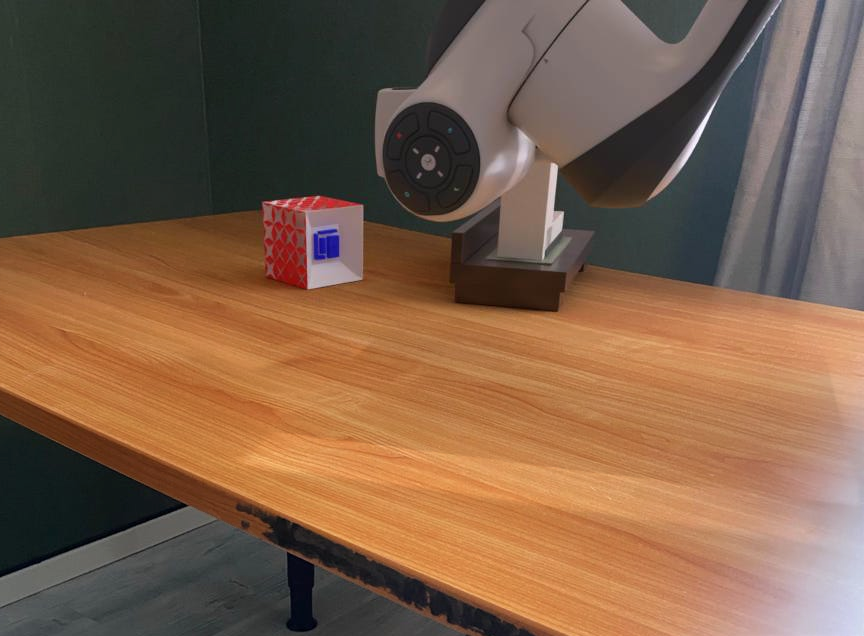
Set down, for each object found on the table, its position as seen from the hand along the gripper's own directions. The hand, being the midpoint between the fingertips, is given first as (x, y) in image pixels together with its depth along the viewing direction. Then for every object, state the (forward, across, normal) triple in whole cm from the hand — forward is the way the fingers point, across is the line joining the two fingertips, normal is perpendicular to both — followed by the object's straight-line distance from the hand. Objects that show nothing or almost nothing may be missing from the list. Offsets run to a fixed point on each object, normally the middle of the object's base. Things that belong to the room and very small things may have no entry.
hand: (513, 123), depth 89 cm
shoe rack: (+17, +1, +18) cm, 25 cm away
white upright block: (+16, 0, +13) cm, 21 cm away
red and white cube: (+11, +24, +18) cm, 32 cm away
